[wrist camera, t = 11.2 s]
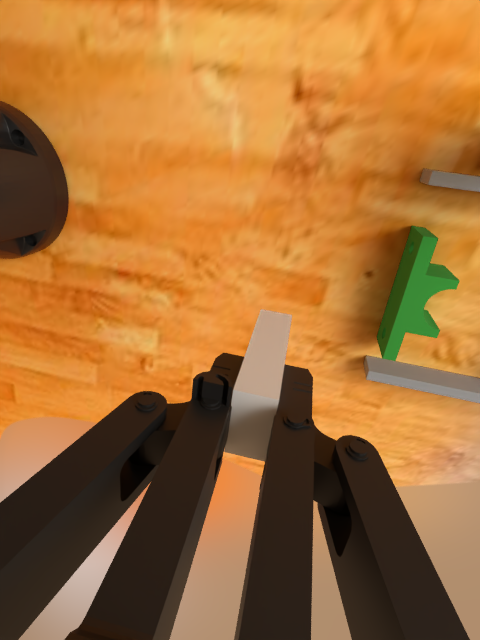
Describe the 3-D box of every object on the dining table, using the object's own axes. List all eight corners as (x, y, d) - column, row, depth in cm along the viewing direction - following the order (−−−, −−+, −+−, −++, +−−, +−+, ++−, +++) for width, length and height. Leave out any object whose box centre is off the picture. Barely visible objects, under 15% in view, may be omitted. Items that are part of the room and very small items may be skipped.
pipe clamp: (414, 343, 38) (425, 368, 34) (376, 335, 38) (382, 359, 34) (456, 231, 33) (474, 244, 29) (411, 224, 33) (423, 236, 29)
